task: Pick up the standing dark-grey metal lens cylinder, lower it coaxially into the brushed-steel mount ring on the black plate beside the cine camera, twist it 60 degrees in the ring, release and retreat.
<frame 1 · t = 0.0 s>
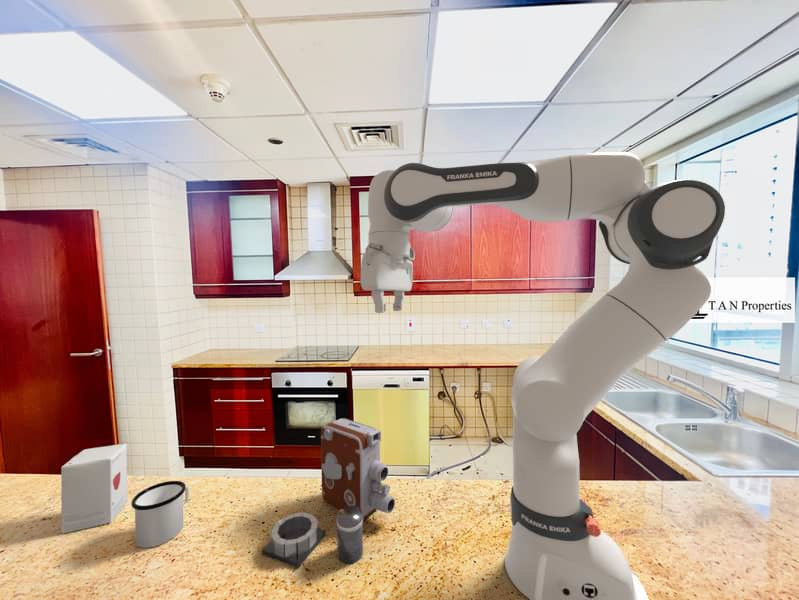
hand: (389, 311, 69), 48 cm above the countertop, fingers open, 8 cm apart
mount: (295, 544, 65), on the countertop
mug: (165, 530, 70), on the countertop
lens: (350, 553, 63), on the countertop
cine camera: (358, 510, 76), on the countertop
supplement box: (97, 517, 75), on the countertop
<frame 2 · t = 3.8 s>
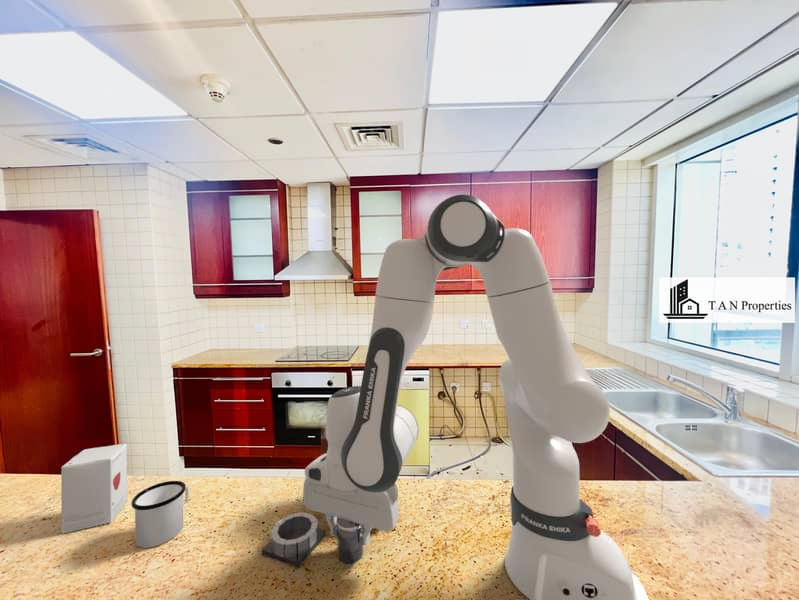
hand: (350, 538, 63), 3 cm above the countertop, fingers closed on lens, 5 cm apart
lens: (350, 553, 63), on the countertop, touching gripper
everything else where it was.
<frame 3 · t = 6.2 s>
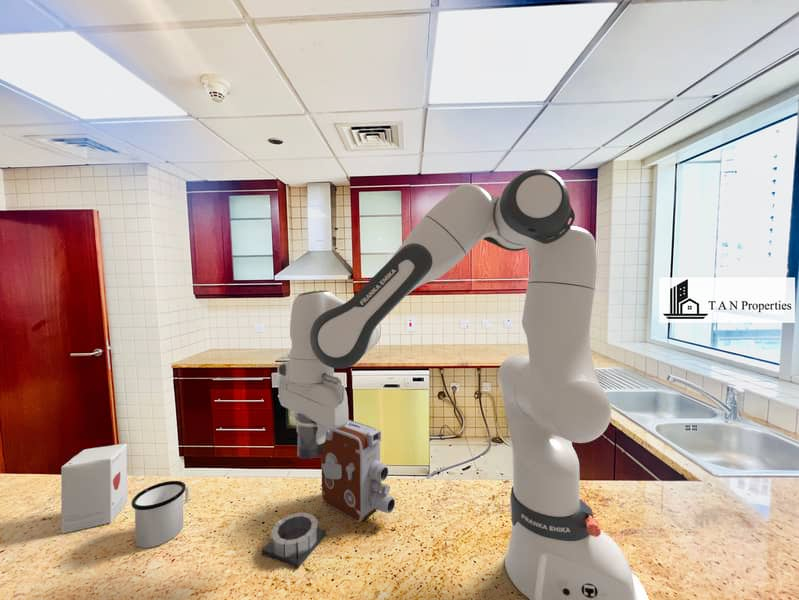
hand: (310, 437, 64), 23 cm above the countertop, fingers closed on lens, 5 cm apart
lens: (310, 452, 64), point 20 cm above the countertop, touching gripper
everything else where it was.
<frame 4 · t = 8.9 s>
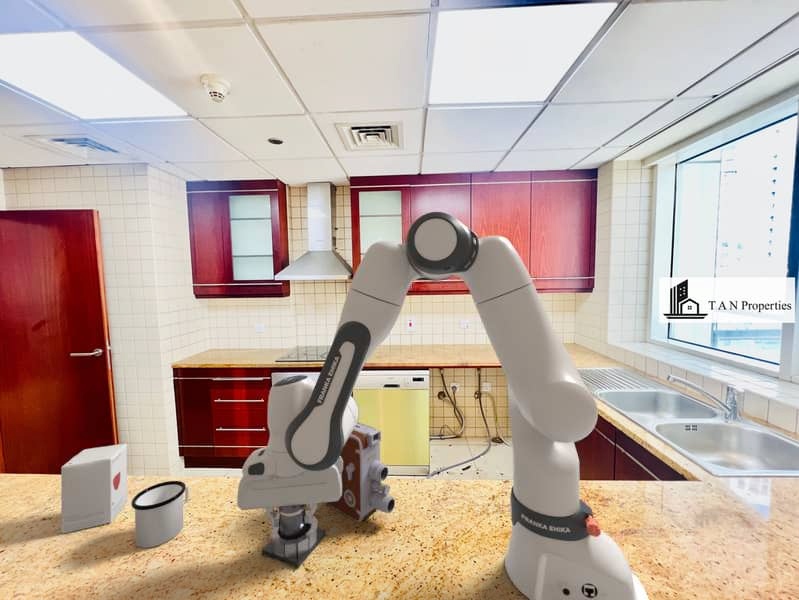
hand: (292, 523, 64), 5 cm above the countertop, fingers closed on lens, 5 cm apart
lens: (293, 537, 65), point 2 cm above the countertop, touching gripper
everything else where it was.
when the fingers open (5 cm above the countertop, at t = 10.0 s): lens stays where it is, resting on mount.
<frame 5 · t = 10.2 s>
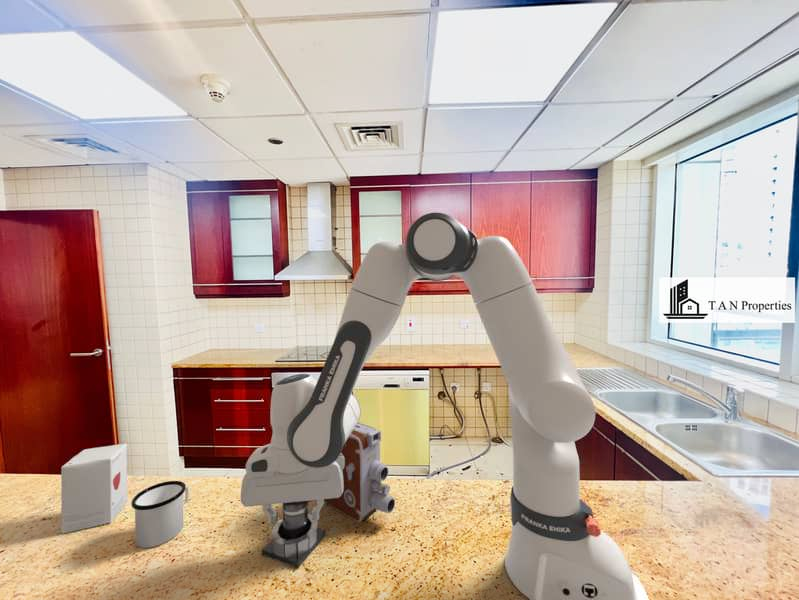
hand: (294, 519, 65), 5 cm above the countertop, fingers open, 7 cm apart
lens: (295, 537, 66), point 1 cm above the countertop, touching mount
everything else where it was.
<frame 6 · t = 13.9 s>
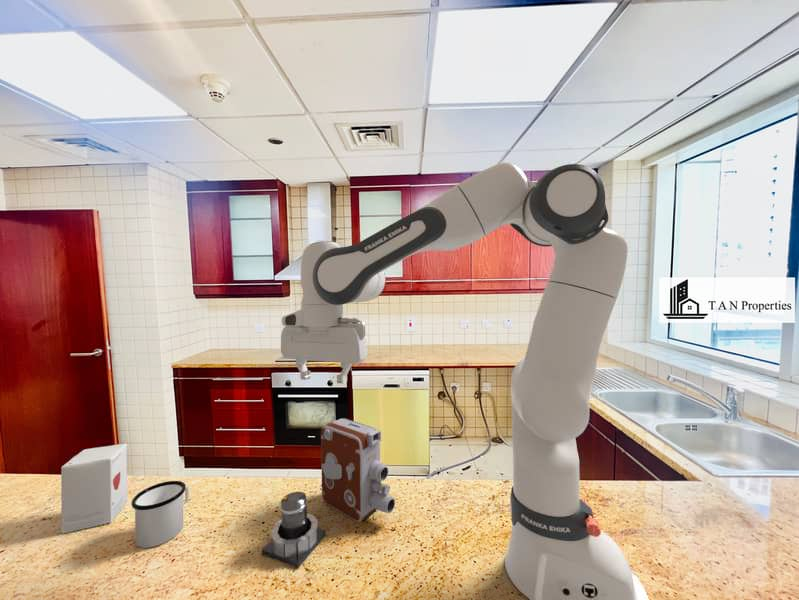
hand: (323, 381, 68), 33 cm above the countertop, fingers open, 8 cm apart
nothing on the countertop moved.
at the end: lens 0.4 cm off-centre on the mount, point 1.1 cm above the mount's base; lens tilted 3°; the gripper is holding nothing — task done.
